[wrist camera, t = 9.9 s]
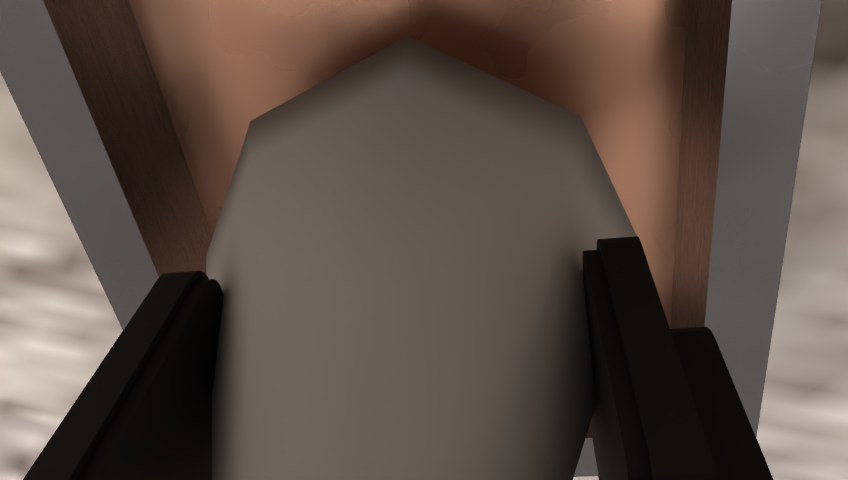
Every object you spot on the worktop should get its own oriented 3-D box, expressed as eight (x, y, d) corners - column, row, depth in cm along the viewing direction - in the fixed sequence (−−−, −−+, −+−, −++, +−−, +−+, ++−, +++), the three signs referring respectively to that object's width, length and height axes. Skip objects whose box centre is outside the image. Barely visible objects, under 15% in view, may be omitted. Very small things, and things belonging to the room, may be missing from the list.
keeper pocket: (771, -222, 11) (855, -225, 8) (713, 371, 17) (751, 471, 15) (42, -103, 13) (-70, -76, 10) (236, 396, 19) (198, 488, 17)
